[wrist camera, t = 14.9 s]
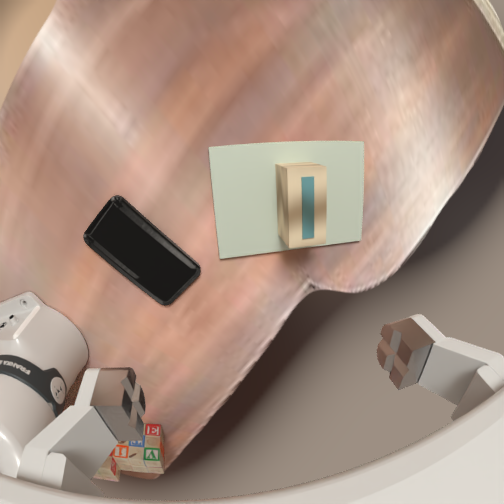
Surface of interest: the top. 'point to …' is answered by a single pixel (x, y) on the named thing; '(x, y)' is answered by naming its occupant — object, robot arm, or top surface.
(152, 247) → the phone
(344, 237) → the rubber mat
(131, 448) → the stack of blocks
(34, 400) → the robot arm
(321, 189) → the maple block
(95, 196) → the top surface
